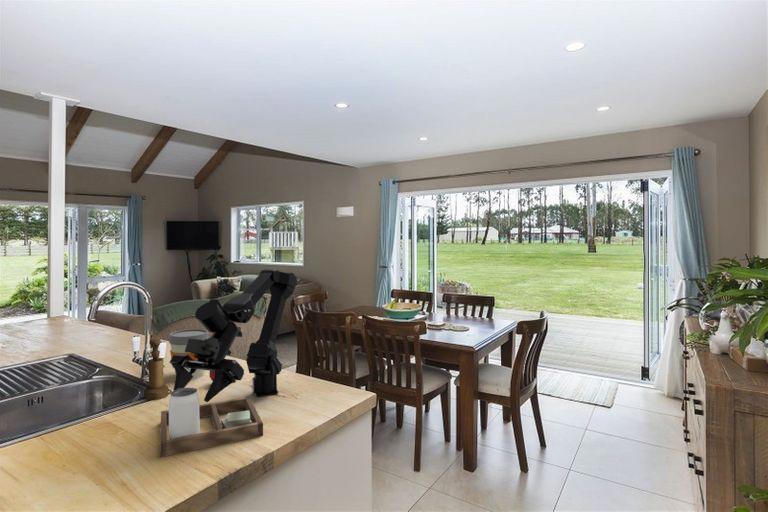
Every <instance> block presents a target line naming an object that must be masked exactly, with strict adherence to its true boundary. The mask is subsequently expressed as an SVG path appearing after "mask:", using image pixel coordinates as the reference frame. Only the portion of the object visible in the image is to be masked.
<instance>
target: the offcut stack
mask: <svg viewBox="0 0 768 512" xmlns="http://www.w3.org/2000/svg"><path fill="white" fill-rule="evenodd" d="M220 422H221V426H222V429H225V428H230V427H235V426H240V425H245V424H250V423H252V421H251V420H250V410H248V411H246V410H240V411H234V412H229V413H227V417H225V418H221V419H220Z"/></svg>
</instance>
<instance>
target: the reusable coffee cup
mask: <svg viewBox="0 0 768 512" xmlns="http://www.w3.org/2000/svg"><path fill="white" fill-rule="evenodd" d="M208 338H210V337H209V331H208V330H207V329H206V328H204V329H202V328H190V329H189V328H188V329H181V330H176V331H173V332H171V333H170V334H169V339H168V340H169V341H168V343H169V345H170V351H169V352H170V360H171V359H172V357H173V355H176V354H184V355H189V356H190V357H191V358H192V359H193V360H194V361H198V359H197V358H195V357H194V356H193V355H194V353H190V352H185V348H186V345H187V342H188V339H198V340H205V339H208ZM174 374H175V376H176V371H175V370H174ZM192 375H193V378H192V379H191V380H195V379H198V377H199V378H201V377H203V376H204V375H205V370H200V369H197V370H196V371H195V372H194V373H193V374H192ZM194 378H195V379H194Z"/></svg>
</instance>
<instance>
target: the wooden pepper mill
mask: <svg viewBox="0 0 768 512" xmlns="http://www.w3.org/2000/svg"><path fill="white" fill-rule="evenodd" d="M148 343H149V345H150V347H151V348H152V351H151V352H150V354H151V356H152V358H150V359H148V360H147V363H148V385H147V387H146V388H144V389H143V398H144V399H145V400H148V399H150V400H154V401H155V400H160V399H164V398H166V397H168V396H169V385H166V384H165V383H164V382H165V381H164V358H161V357H160V355H161V351H160V350H159V347H160V344H161V343H162V340H161V338H160V337H159V336H152V337H151V338H150V339H149V342H148ZM150 400H149V401H150Z"/></svg>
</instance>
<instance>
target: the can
mask: <svg viewBox="0 0 768 512" xmlns="http://www.w3.org/2000/svg"><path fill="white" fill-rule="evenodd" d="M173 390H174V389H173ZM197 391H198V389H197V388H195V387H185V388H181V389H177V390H174V391H171V392H170V396H169V399H168V410H169V423H168V440H169V439H174V438H179V437H184V436H189V435H194V434H199V433H201V432H200V431H201V429H200V427H201V425H200V424H201V423H200V421H201V418H200V417H199V405H200V395H199V393H198V392H197Z"/></svg>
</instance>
